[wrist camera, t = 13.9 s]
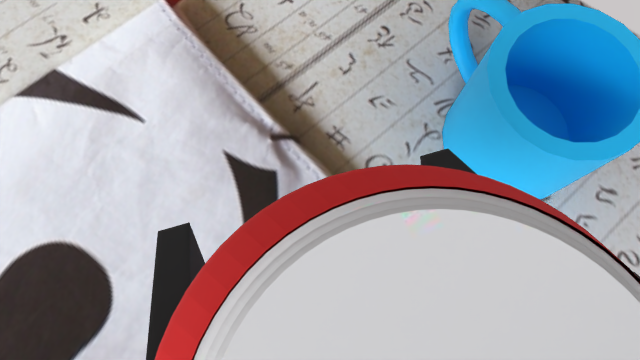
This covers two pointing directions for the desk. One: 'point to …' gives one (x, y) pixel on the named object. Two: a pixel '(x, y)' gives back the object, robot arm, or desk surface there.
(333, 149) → the desk surface
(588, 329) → the beverage can
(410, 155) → the desk surface
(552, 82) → the mug
